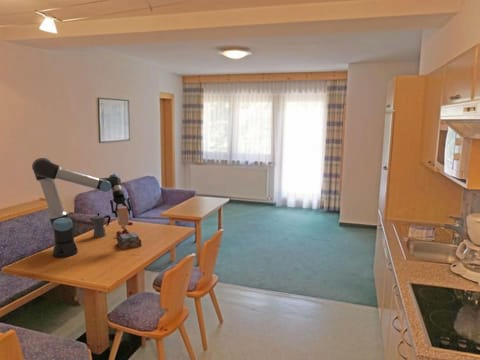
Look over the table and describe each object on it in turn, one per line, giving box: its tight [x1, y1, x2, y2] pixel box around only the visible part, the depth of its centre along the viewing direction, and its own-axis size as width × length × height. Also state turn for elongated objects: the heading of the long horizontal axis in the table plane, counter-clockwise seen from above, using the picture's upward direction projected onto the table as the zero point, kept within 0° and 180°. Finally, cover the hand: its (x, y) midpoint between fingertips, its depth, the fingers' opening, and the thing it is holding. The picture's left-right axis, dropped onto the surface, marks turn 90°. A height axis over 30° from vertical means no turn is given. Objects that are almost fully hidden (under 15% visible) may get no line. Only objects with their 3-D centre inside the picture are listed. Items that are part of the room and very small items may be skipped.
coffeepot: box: [89, 212, 111, 238], centre depth 283 cm, size 15×9×18 cm, turn 112°
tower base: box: [116, 231, 142, 250], centre depth 260 cm, size 14×14×7 cm
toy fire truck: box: [115, 221, 134, 238], centre depth 283 cm, size 3×14×10 cm, turn 143°
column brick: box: [117, 205, 130, 227], centre depth 255 cm, size 6×6×12 cm
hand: (124, 219), depth 252 cm, fingers closed on column brick, 6 cm apart
